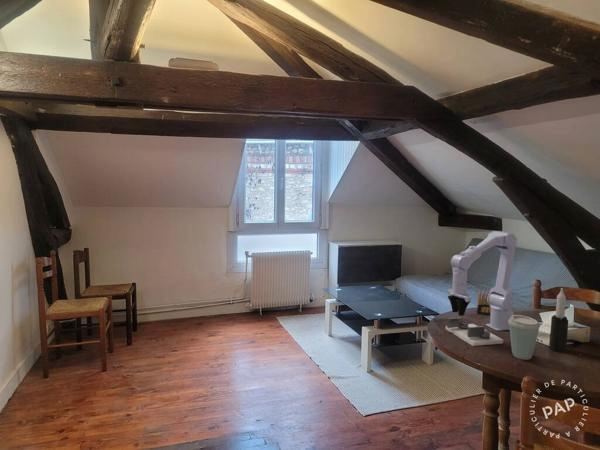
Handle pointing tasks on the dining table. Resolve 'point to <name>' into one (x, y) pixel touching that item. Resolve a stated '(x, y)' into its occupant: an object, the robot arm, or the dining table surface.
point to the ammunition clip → (483, 304)
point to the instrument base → (474, 340)
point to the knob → (456, 323)
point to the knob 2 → (478, 332)
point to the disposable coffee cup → (523, 335)
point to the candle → (559, 326)
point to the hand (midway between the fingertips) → (458, 313)
